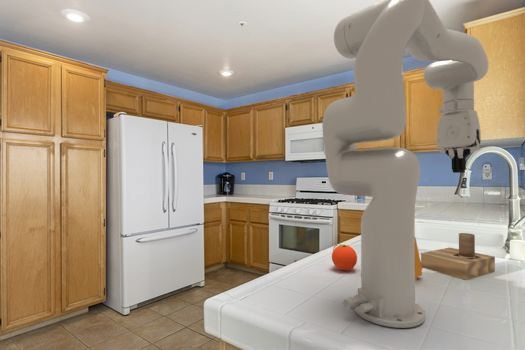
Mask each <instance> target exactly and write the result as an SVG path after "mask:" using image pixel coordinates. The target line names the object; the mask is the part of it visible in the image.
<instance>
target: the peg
mask: <svg viewBox="0 0 525 350" xmlns="http://www.w3.org/2000/svg"><path fill="white" fill-rule="evenodd" d="M475 237H476V236H475V234H472V233H469V232H467V233H466V232H465V233H464V232H460V233H458V249H459V257H462V258H467V259H475V253H476V247H475V245H476V243H475V242H476V241H475V240H476V239H475Z"/></svg>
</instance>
